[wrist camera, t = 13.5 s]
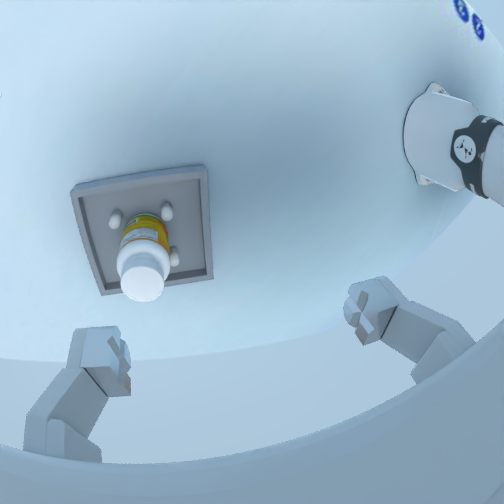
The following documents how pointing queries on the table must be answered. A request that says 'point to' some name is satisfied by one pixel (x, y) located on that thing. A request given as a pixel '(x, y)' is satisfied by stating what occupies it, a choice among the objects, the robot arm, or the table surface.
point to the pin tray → (151, 202)
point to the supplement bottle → (143, 257)
